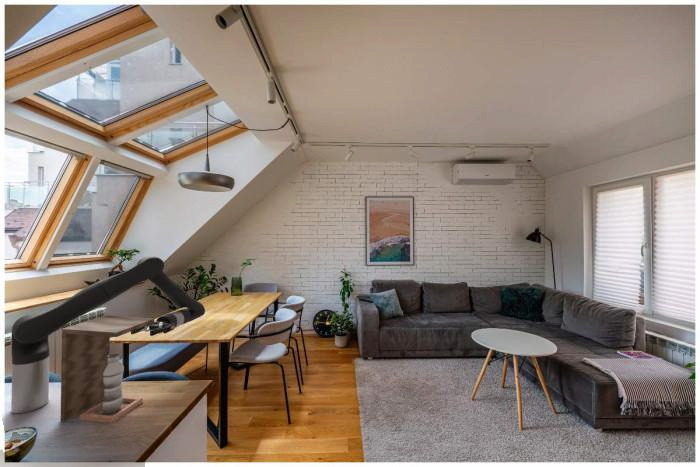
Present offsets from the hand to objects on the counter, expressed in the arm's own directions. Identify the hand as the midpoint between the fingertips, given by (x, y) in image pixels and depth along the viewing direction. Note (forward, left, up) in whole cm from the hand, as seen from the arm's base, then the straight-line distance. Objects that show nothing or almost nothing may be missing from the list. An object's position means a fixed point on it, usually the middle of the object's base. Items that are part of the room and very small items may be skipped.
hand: (141, 332), depth 117 cm
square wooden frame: (+9, -8, -24) cm, 27 cm away
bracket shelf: (+8, -9, -24) cm, 27 cm away
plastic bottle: (+9, -8, -24) cm, 27 cm away
